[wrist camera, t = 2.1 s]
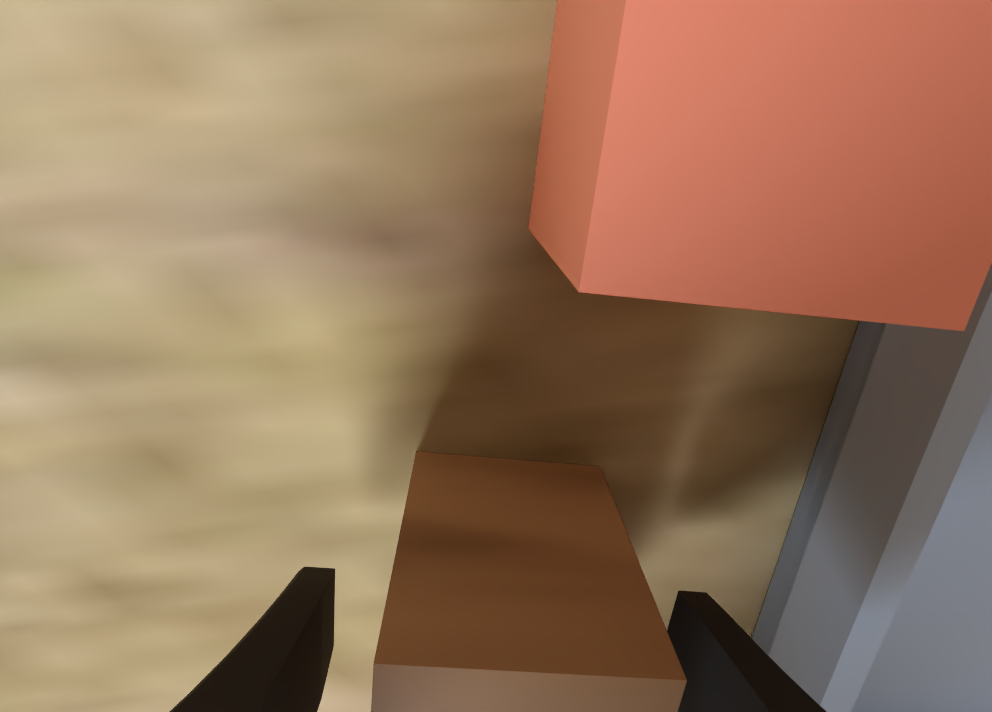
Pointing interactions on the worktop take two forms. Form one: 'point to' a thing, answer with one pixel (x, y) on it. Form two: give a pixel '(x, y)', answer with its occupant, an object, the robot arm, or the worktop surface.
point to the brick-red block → (772, 155)
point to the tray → (895, 530)
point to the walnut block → (519, 597)
